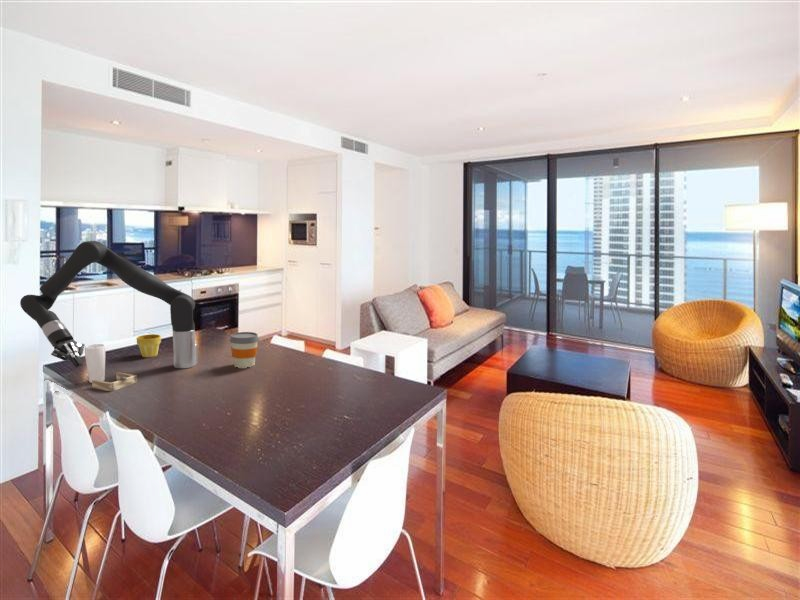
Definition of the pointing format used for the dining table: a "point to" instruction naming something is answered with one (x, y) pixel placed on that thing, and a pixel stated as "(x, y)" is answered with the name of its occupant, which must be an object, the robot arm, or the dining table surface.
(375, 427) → the dining table surface
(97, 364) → the drinking glass
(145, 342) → the plant pot
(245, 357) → the reusable coffee cup
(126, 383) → the oak dock
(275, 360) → the dining table surface
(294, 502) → the dining table surface
